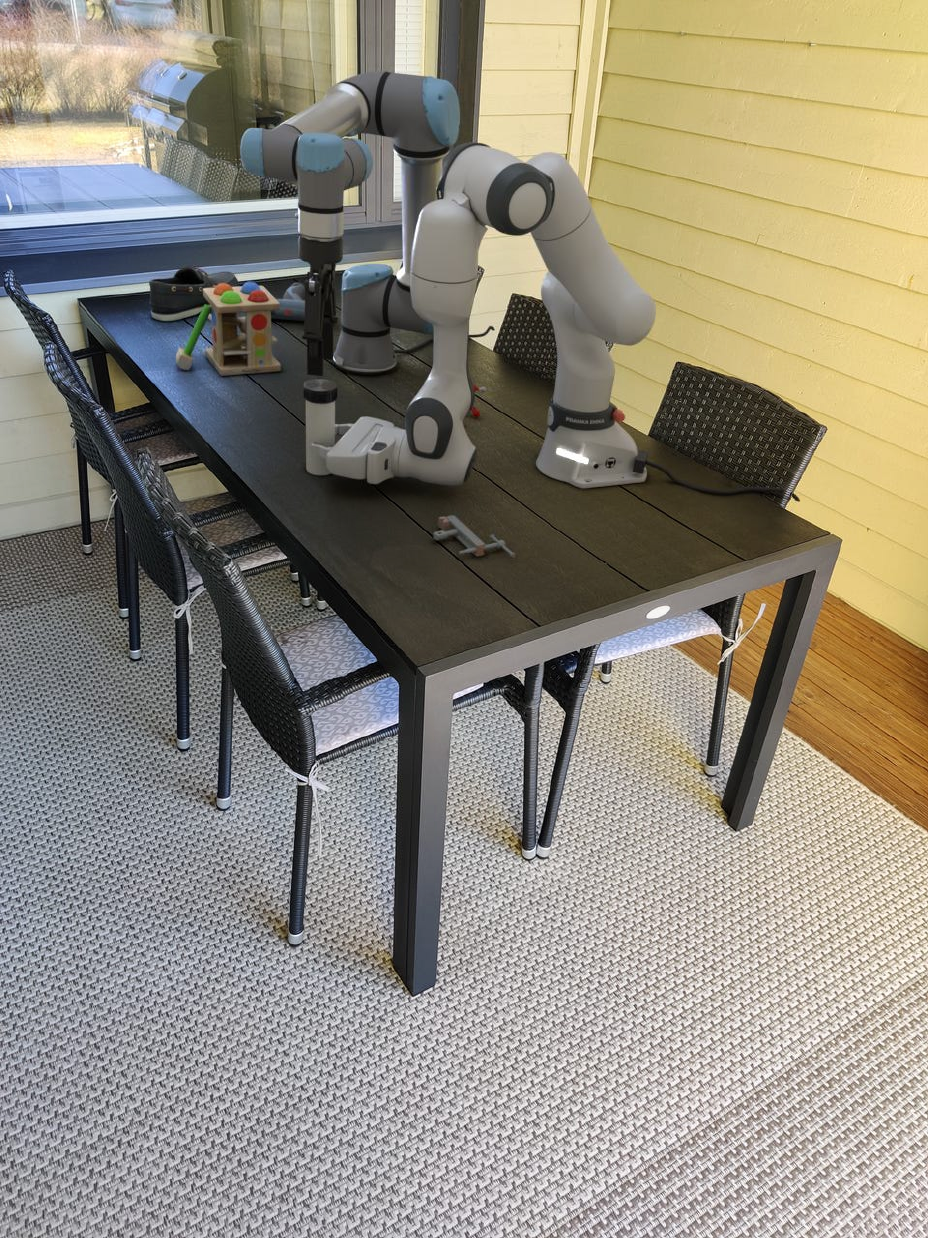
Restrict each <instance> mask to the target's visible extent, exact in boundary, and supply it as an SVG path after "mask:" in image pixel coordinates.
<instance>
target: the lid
mask: <svg viewBox="0 0 928 1238" xmlns="http://www.w3.org/2000/svg"><path fill="white" fill-rule="evenodd" d="M303 399H304V400H305V401H306V400H307V401H309V402H313V403H319V404H324V403H331V402H334V401H335V402H336V401H337V399H338V384H337V383H336V382H335V381H332V380H329V379H323V378H314V379H309V380H306V381H305V382H304V383H303Z"/></svg>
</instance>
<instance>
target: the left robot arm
mask: <svg viewBox="0 0 928 1238" xmlns="http://www.w3.org/2000/svg"><path fill="white" fill-rule="evenodd" d="M460 125H461V108H460V100H459V96H458V94H457V91H456V89H455V87H454V85H453V84H452V83H451V82H450V81H448V80H446V79H443V78H436V77H434V76H431V75H428V76H427V75H418V74H417V75H416V74H407V73H399V72H392V71H391V72H390V71H384V70H374V71H368V72H362V73H359V74H356V75H353V76H350V77H348V78H345V79H343V80H341V81H339V82H337V83H335V84H334V85H332V86H331V87H329V88H328V89H327V91H326V92H325V94H324V96H323V98H322V99H320V100H318V101H316V102H315V103H314V104H311V105H310V106H308V107H307V108H305V109H303V110H302V111H300V112H298V113H297V114H295V115H294V116H292V117H290V118H289V119H287V120H284V122H282V123H280V124H279V125H277V126H275V127H273V128H271V129H267V128H264V127H250V128H247V130H245V131H244V133H243V135H242V138H241V140H240V145H239V147H240V148H239V150H240V151H239V152H240V160H241V161H240V162H241V164H242V167H243V168H244V170H245V171H246V172H247V173H248V174H250V175H255V176H260V177H263V178H265V179H266V178H269V179H276V180H282V181H288V182H289V181H290V182H297V211H296V212H295V214H294V217H295V218H296V219H297V220H298V223H297V224H298V225H297V228H298V229H297V231H298V233H299V234H300V235H299V236H298V238H297V247H298V248H297V252H298V253H297V255H298V259H300V260H301V261H302V262H304V263H308V265H310V266H309V271H307V273H306V279H305V280H304V282H303V285H304V286H305V300H304V301H305V318H304V321H303V322H304V323H303V334H302V335H301V338H302V340H306V375H308V376H315V377H323V376H324V360H327V361H332V362H333V363H332V364H333V366H334V367H335V368H337V369H338V370H339V371H342V372H344V373H347V374H352V375H356V376H380V375H381V376H382V375H386V374H389V373H391V372H393V371H395V369H396V368H397V361H398V360H397V354H408V353H409V354H410V353H412V352H414V351H416V350H419V349H420V348H422V347H424V346H426V345H427V344H428V343H430V342H434V328H433V324H432V323H429V322H427V321H425V320H424V319H422V318H421V317H420V316H419V315H418V314H417V313H416V312H415V310H414V309H413V306H412V300H411V292H410V270H411V256H412V247H413V241H414V235H415V230H416V226H417V222H418V218H419V215H420V212H421V211H422V209H423V208H424V207H425V206H426V205H427V204H429V203H431V202H433V201H436V200H438V199H437V194H436V188H437V185H438V183H439V181H440V175H441V171H442V168H443V159H444V158H445V157H446V156H447V155H449V154H450V149H451V148H450V147H451V146H454V145H455V144H456V143H457V140H458V138H459V133H460ZM359 134H367V135H374V136H380V137H385V138H390V139H392V140H393V141H392V147H393V152H394V153H395V154H396V155H397V156H398V157H399V158H400V174H401V175H400V176H401V177H400V178H401V181H400V182H401V222H402V224H401V225H402V226H401V227H402V229H401V230H402V267H401V268H400V269H398V270H397V272H396V274H394V273H395V272H394V269H393V267H392V266H391V265H388V264H385V263H384V264H383V263H366V264H358V265H354V266H351V267H349V268H346V270H345V271H344V272H343V274H342V277H341V278H342V280H341V287H340V291H341V313H340V314H341V316H340V317H341V319H340V321H341V324H340V325H341V326H340V329H341V330H340V336H339V338H338V341H337V344H336V348H335V350H334V324H338V322H339V317H337V316H336V312H337V296H336V293H337V292H336V268H337V264H339V263H341V262H342V261H343V257H344V240H343V238H342V236H343V235H344V224H345V223H344V222H345V221H344V216H345V215H344V213H345V212H344V193H345V191H347V190H351V189H353V188H355V187H359V186H360V185H362V184H363V183H364V182H365V181H367V180H368V179H369V178H370V176H371V174H372V171H373V169H374V168H373V167H374V159H373V154H372V152H371V150H370V147H369V146H368V145H367V144H366V143H365V142H364V141H362V140H361V139H359V138H356V136H357V135H359ZM440 197H441V195H440V191H439V198H440ZM334 316H336V317H334ZM391 328H392V329H397V330H402V331H408V332H412V333H413V332H414V333H420V334H423V335H433V336H432V337H430V338H428V339H425V340H424V341H423V342H421V343H419V344H416V345H415V346H413V347H411V348H408V349H395V347H394V343H393V341H392V337H391V336H392V335H391ZM490 331H494V332H495V327H494V326H493V325H488V327H487V329H486V330H485V331H484V332H482V333H477V334H476V333H475V334H469V339H473V338H483V337H486V336H487V335H488V334H489V333H490Z"/></svg>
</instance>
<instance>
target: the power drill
mask: <svg viewBox="0 0 928 1238" xmlns="http://www.w3.org/2000/svg"><path fill="white" fill-rule="evenodd" d="M275 299H276V300H277V301H278V302H279V303H280V310H271V319H274V320H275V319H276V320H283V321H294V322H295V321H297V322H304V318H305V285H304V283H301V282H293V283H292V284H291V285H290V286H289V287H288V288H287V289H286V291H285V292H284V294H283V297H282V298H275ZM334 317H336V318H337V317H338V312H337V311H336V316H334Z"/></svg>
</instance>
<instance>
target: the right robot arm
mask: <svg viewBox="0 0 928 1238" xmlns="http://www.w3.org/2000/svg"><path fill="white" fill-rule="evenodd" d="M447 155H448V156H447V157H446V159H445V161H444V163H443V164H442V171H441V175H440V181H439V183H438V185H437V188H436V194H437V199H438V200H436V201H433V202H431V203H429V204H427V205H426V206H425V207H424V208H423V209H422V211H421V212H420V215H419V218H418V222H417V226H416V230H415V235H414V241H413V247H412V256H411V270H410V292H411V300H412V306H413V309H414V310H415V312H416V313H417V314H418V315H419V316H420V317H421V318H422V319H424V320H425V321H427V322H429V323H432V324H433V328H434V335H433V337H434V340H433V354H432V355H433V356H432V357H433V360H432V361H433V362H432V367H431V370H430V373H429V374H428V376H427V378H426V379H425V381H424V382H423V385H422V386H421V387H420V389H419V390H418V392H417V393H416V395H415V396H414V397H413V398H412V400H411V401H410V403H409V404H408V406H407V407H406V411H405V415H404V427H405V429H404V428H400V427H398V426H395V424H394V423H393V422H390V421H389V420H384V419H381V418H378V417H373V416H368V415H366V416H360V417H359V418H358V419H357V420H356V422H355V423H341V424H337V423H335V437H338V436H340V435H341V438H340V439H339V440H338V441H337V442H335V445H334V446H333V447H328V448H326V447H324V446H322V443H317V442H314V443H313V444H312V445H311V446H310V452H311V453H312V454H316V455H319V456H321V457H322V458H324V459H325V460H326V469H327V470H328V471H329V472H330V473H331V475H332V474H333V475H335V476H338V477H343V478H349V479H353V480H366V482H367V483H368V484H372V485H378V484H380V483H382V482H384V481H386V480H388V479H392V478H394V477H397V478H404V479H406V478H413V479H417V480H419V481H421V482H424V483H429V484H434V485H441V486H442V485H443V486H461V485H463V484H464V483H466V482H467V481H468V480H469V478H470V476H471V474H472V471H473V468H474V466H475V464H476V460H477V455H478V450H477V447H476V446H475V445H474V444H473V443H472V441H471V439H470V438H469V436H468V435H467V432H466V430H465V427H464V424H463V423H464V419H465V418H466V417H467V415H469V413H470V412H472V411H471V409H473V408H472V407H473V406H474V404H475V401H476V392H475V390H474V386H473V385H474V383H473V380H472V377H471V374H470V370H469V339H470V338H469V335H470V320H471V315H472V310H473V306H474V302H475V297H476V290H477V282H478V270H479V250H480V247H481V243H482V242H483V238H484V236H485V235H486V234H487V232H488V230H489V228H492V229H494V230H495V231H496V232H498V233H501V234H504V235H508V236H512V237H513V236H514V237H520V236H524V235H527V234H530V235H531V238H532V239H533V241H534V243H535V245H536V248H537V250H538V252H539V254H540V256H541V258H542V261H543V263H544V265H545V268H546V269H547V270H548V271H547V272H546V274H545V276H544V278H543V280H542V283H541V287H540V296H541V297H540V298H541V300H542V303H543V306H544V307H545V308H546V311H547V312H548V315H549V318H550V320H551V324H552V328H553V333H554V340H555V346H556V359H557V361H556V362H557V363H556V373H555V382H554V387H553V388H554V389H553V395H552V396H551V397H550V401H549V407H548V411H547V420H546V422H547V428H546V433H545V437H544V440H543V444H542V446H541V449H540V452H539V454H538V456H537V459H536V460H535V466H536V467H537V469H538V470H539V471H540V472H541V473H542V474H544V475H546V476H548V477H550V478H552V479H555V480H557V481H561V482H566V483H567V484H570V485H572V486H574V487H576V488H578V489H591V488H592V489H593V488H599V487H600V488H602V487H611V486H619V485H628V484H637V483H644V482H646V480H647V477H648V470H647V468H646V466H649V467H651V468H654V469H655V470H656V469H657V470H658V471H661V472H663V473H664V474H665V475H666V476H667V477H668V478H669V479H670V480H671V481H672V482H673V483H676V484H678V485H681V486H682V487H686V488H688V489H691V490H694V491H697V492H701V493H707V494H716V495H734V494H739V493H744V492H771V493H773V492H774V493H783V492H784V491H783V490H782V489H783V488H781V487H761V486H747V487H746V486H745V487H740V488H733V489H714V488H706V487H701V486H696V485H693V484H690V483H687V482H685V481H682V480H680V479H679V478H678V477H677V478H676V477H675V476H674V475H673V474H672V473H671V471H669V469H667V468H665V467H664V466H662V465H659V464H657V463H655V462H652V461H649V460H648V455H649V451H647V450H642V449H638V446H637V444H636V442H635V439H634V438H633V437H632V435H630V434H629V432H628V431H626V429H624V428H623V427H622V426H621V425H620V424H621V423H623V422H624V421H626V420H625V419H626V415H625V413H624V412H623V411H622V410H621V409H618V407H617V406H616V405H615V404H614V403H613V402H611V396H612V392H613V386H614V379H615V374H616V366H615V361H614V358H613V357H612V355H611V354H610V352H609V350H608V347H607V344H606V343H609V344H615V345H621V346H627V347H628V346H629V347H630V346H635V345H637V344H640V343H641V342H642V341H644V339H645V338H647V337H648V335H649V333H651V330H652V329H653V327H654V325H655V322H656V317H657V316H656V315H657V307H656V303H655V300H654V298H653V297H652V296H651V295H650V294H649V293H648V292H647V291H646V290H645V289H644V288H642V286H641V285H640V284H639V283H638V282H637V281H636V280H635V278H634V277H633V275H631V273H630V272H629V270H628V269H627V267H626V266H625V265H624V263H623V262H622V260H621V259H620V258H619V256H618V255H617V253H616V252H615V250H614V249H613V247H612V246H611V245H610V243H609V242H608V240H607V238H606V236H605V235H604V233H603V230H602V228H601V224H600V223H599V220H598V217H597V215H596V214H595V210H594V208H593V206H592V204H591V203H592V202H591V200H590V198H589V196H588V193H587V191H586V189H585V187H584V186H583V184H582V181H581V180H580V178H579V176H578V174H577V173H576V172H575V170H574V169H573V167H572V165H571V164H570V163H569V161H568V160H567V159H566V158H565V157H564V156H563V155H562V154H559V153H558V152H552V151H546V152H541V153H538V154H536V155H533V156H531V158H529V159H528V160H527V161H526V162H525V161H523V160H522V159H520V158H518V157H517V156H515V155H513V154H511V153H510V152H507V151H504V150H500V149H497V148H494V147H491V146H489V145H488V144H486V143H483V142H473V141H471V142H465V143H462V144H458V145H457V146H456V147H454V148H453V149H452V150H451V152H449V153H448V154H447ZM439 191H440V195H441V197H440V198H439ZM487 226H488V227H489V228H488V227H487ZM792 492H793V491H791V493H790V495H789V494H787V495H788V496H789V497H791V494H792ZM783 494H784V493H783ZM791 498H792V499H793V500H794V501H796V502H797V503H798V502H801V499H800V498H799V497H798V495H797V494H796V493H794V492H793V494H792V497H791Z"/></svg>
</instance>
